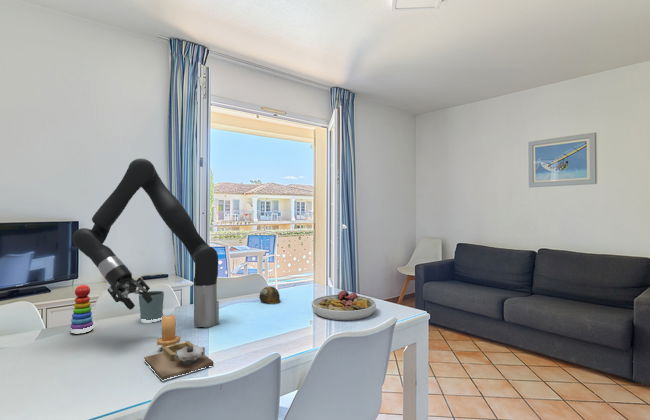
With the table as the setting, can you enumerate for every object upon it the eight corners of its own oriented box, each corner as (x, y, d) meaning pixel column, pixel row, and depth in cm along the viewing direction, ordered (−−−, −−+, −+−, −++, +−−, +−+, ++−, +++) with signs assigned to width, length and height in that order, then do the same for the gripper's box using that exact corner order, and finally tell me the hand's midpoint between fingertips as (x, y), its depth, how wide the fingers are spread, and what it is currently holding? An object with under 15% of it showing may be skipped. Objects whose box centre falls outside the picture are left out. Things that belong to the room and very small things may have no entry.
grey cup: (145, 325, 148) (145, 297, 148) (134, 321, 154) (134, 293, 154) (168, 319, 156) (168, 292, 156) (157, 315, 162) (156, 289, 162)
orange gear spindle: (176, 342, 129) (175, 312, 129) (183, 348, 123) (183, 317, 123) (154, 348, 124) (153, 316, 124) (160, 354, 118) (160, 321, 118)
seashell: (255, 302, 185) (255, 287, 185) (268, 298, 192) (268, 284, 192) (270, 305, 178) (270, 290, 178) (283, 302, 185) (283, 286, 185)
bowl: (379, 322, 151) (379, 304, 151) (309, 322, 152) (309, 304, 152) (372, 304, 181) (371, 288, 181) (313, 304, 182) (313, 288, 182)
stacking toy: (65, 336, 136) (65, 287, 136) (74, 329, 143) (74, 283, 143) (89, 334, 138) (89, 286, 138) (96, 327, 146) (96, 282, 146)
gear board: (191, 349, 123) (191, 331, 123) (213, 366, 109) (213, 346, 109) (144, 361, 113) (144, 342, 113) (162, 382, 99) (162, 360, 99)
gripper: (104, 267, 121) (133, 302, 118) (135, 261, 135) (161, 293, 132) (91, 282, 122) (119, 317, 119) (124, 274, 136) (149, 306, 133)
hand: (141, 304), depth 126 cm, fingers open, 8 cm apart
